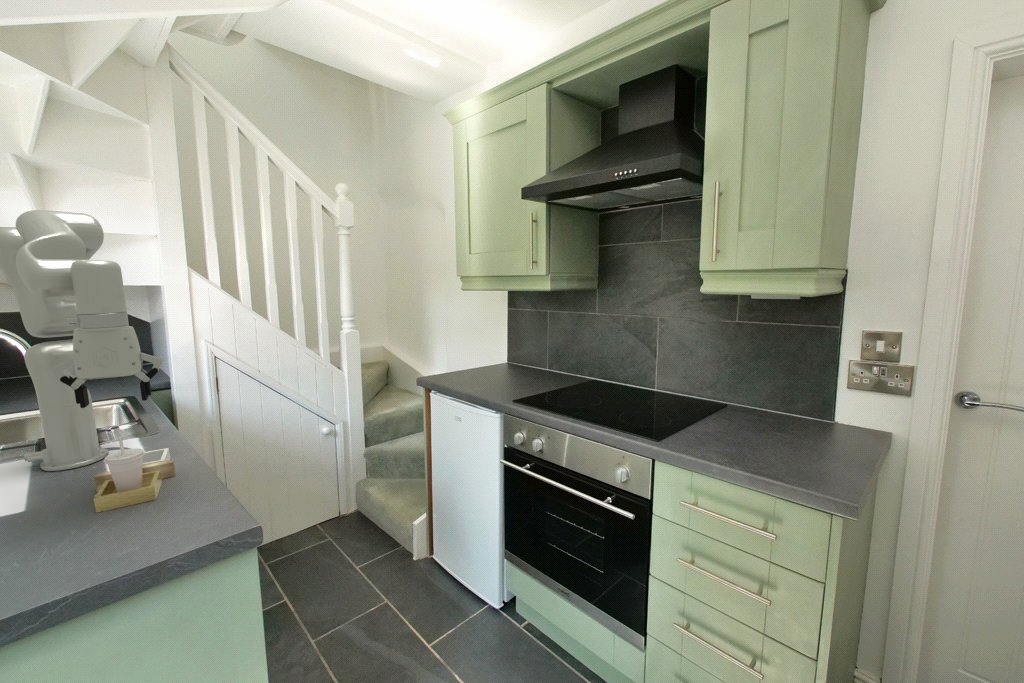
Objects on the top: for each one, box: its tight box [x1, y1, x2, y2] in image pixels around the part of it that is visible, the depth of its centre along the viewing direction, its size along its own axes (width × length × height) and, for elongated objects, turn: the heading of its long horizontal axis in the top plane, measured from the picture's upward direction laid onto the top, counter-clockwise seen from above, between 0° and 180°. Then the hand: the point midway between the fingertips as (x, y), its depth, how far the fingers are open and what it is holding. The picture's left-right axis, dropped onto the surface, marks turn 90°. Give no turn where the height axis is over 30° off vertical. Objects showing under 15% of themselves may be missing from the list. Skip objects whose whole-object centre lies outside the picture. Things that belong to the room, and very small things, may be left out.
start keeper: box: [142, 447, 171, 465], centre depth 109 cm, size 10×10×3 cm
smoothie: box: [104, 434, 145, 493], centre depth 95 cm, size 6×6×14 cm
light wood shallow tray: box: [93, 470, 163, 514], centre depth 96 cm, size 10×10×3 cm
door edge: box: [93, 459, 177, 493], centre depth 103 cm, size 14×2×4 cm, turn 122°
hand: (116, 402), depth 93 cm, fingers open, 9 cm apart
